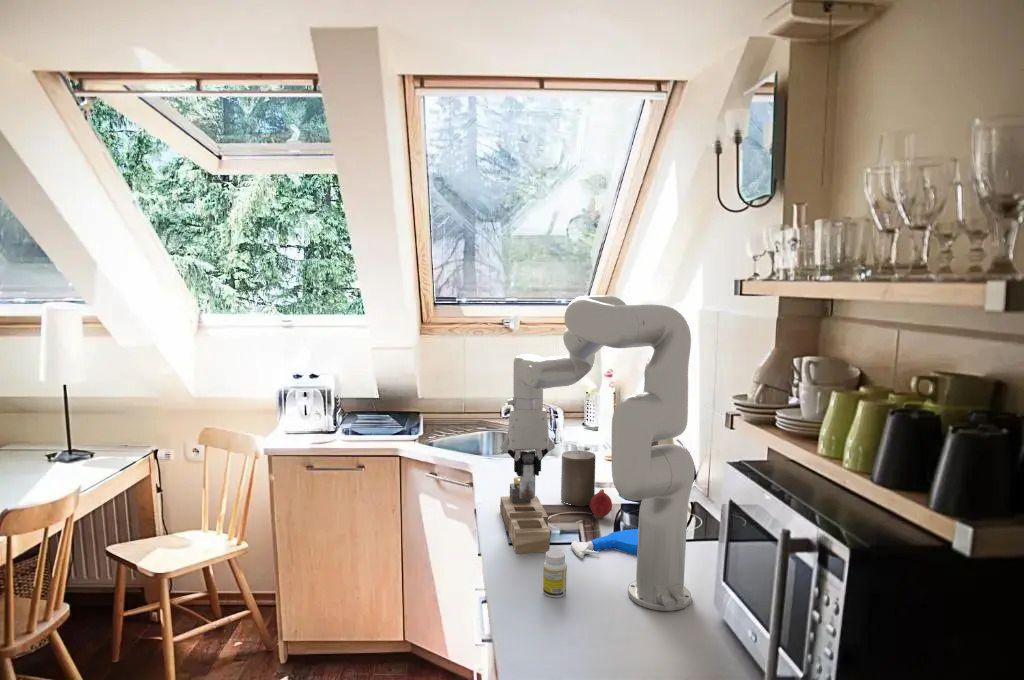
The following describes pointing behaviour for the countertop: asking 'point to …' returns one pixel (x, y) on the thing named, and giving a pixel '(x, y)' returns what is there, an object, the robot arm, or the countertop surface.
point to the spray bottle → (609, 543)
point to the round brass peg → (517, 481)
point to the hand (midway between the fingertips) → (527, 473)
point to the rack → (529, 532)
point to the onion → (601, 504)
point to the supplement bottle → (554, 574)
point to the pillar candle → (578, 477)
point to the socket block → (519, 505)
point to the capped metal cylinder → (527, 474)
